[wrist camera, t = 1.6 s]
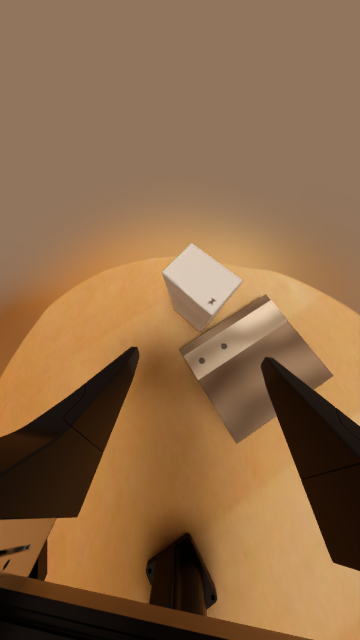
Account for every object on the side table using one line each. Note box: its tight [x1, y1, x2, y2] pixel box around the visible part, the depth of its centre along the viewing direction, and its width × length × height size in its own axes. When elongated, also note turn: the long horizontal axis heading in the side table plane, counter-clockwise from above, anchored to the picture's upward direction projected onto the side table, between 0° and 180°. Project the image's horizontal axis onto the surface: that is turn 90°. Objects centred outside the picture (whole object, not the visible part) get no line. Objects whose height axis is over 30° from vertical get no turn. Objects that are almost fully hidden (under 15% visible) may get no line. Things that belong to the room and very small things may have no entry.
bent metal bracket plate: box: [179, 294, 333, 444], centre depth 20 cm, size 14×16×2 cm
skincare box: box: [162, 243, 242, 332], centre depth 17 cm, size 6×4×12 cm
